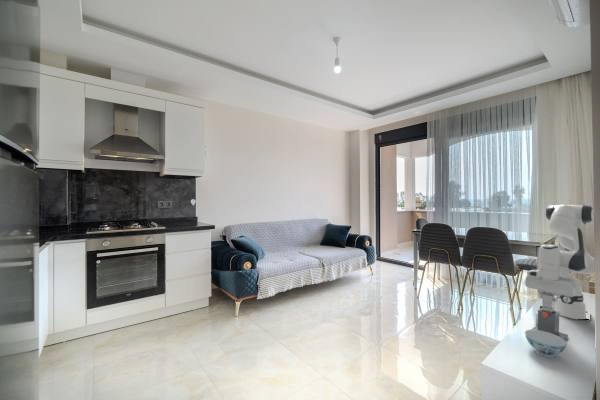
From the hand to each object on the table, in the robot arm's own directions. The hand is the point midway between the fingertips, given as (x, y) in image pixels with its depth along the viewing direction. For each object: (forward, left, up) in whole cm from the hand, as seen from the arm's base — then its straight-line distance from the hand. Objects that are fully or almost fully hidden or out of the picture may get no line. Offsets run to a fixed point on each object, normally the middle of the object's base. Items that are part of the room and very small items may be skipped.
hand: (548, 299), depth 147 cm
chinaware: (+23, +5, -20) cm, 31 cm away
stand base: (0, 0, -20) cm, 20 cm away
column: (0, 0, -18) cm, 18 cm away
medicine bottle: (-12, -4, -20) cm, 24 cm away
